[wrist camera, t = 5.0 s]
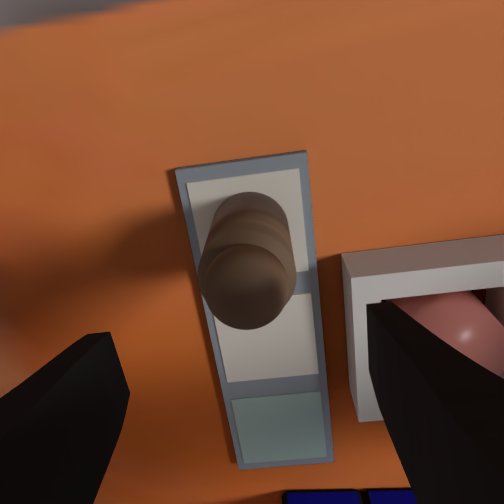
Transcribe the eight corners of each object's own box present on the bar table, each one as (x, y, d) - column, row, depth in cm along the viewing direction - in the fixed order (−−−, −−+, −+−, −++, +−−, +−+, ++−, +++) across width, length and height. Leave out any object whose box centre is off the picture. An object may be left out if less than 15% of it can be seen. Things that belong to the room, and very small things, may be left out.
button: (481, 270, 20) (517, 303, 17) (475, 354, 22) (505, 396, 19) (377, 282, 20) (395, 316, 18) (379, 363, 22) (396, 405, 19)
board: (306, 150, 18) (307, 152, 18) (333, 454, 25) (334, 463, 25) (176, 167, 19) (174, 170, 18) (239, 462, 26) (239, 471, 25)
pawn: (284, 186, 18) (296, 250, 12) (292, 259, 20) (306, 349, 13) (205, 197, 18) (177, 264, 12) (218, 267, 20) (199, 360, 14)
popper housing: (518, 232, 19) (552, 255, 17) (501, 372, 23) (528, 407, 20) (341, 253, 20) (351, 278, 18) (349, 387, 23) (358, 422, 21)
